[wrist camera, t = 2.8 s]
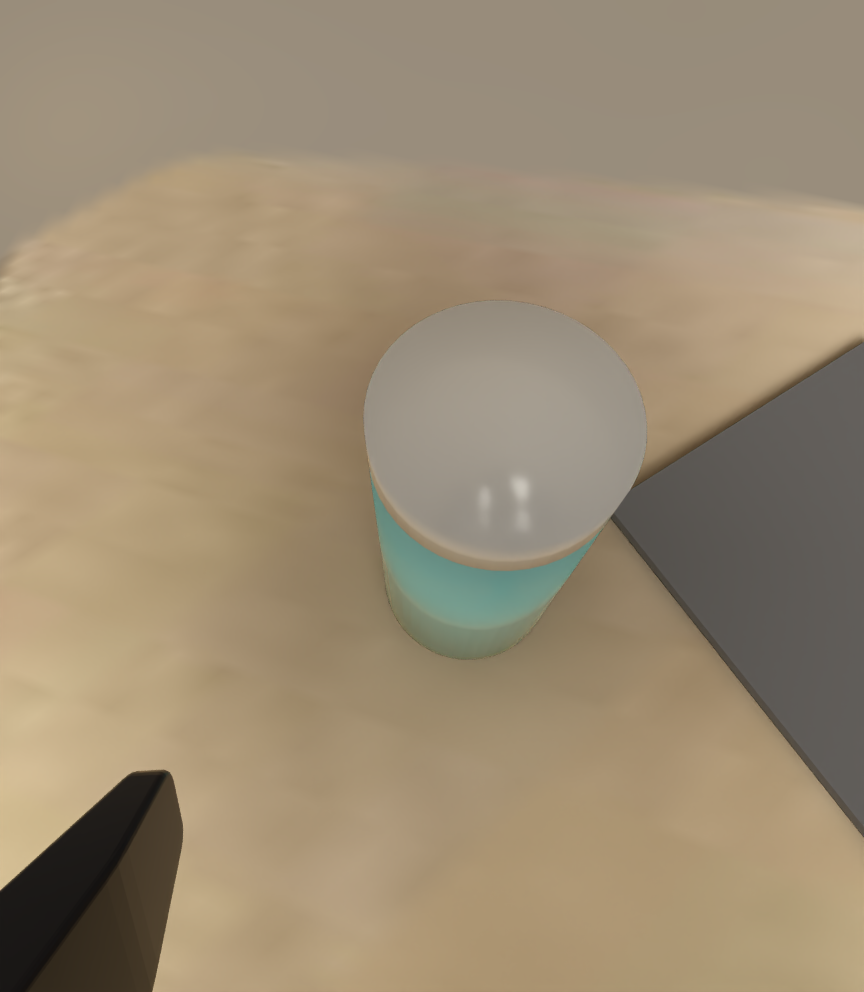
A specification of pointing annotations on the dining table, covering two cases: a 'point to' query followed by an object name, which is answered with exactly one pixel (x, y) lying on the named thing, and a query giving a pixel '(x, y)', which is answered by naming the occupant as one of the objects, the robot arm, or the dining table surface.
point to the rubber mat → (777, 562)
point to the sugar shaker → (494, 467)
